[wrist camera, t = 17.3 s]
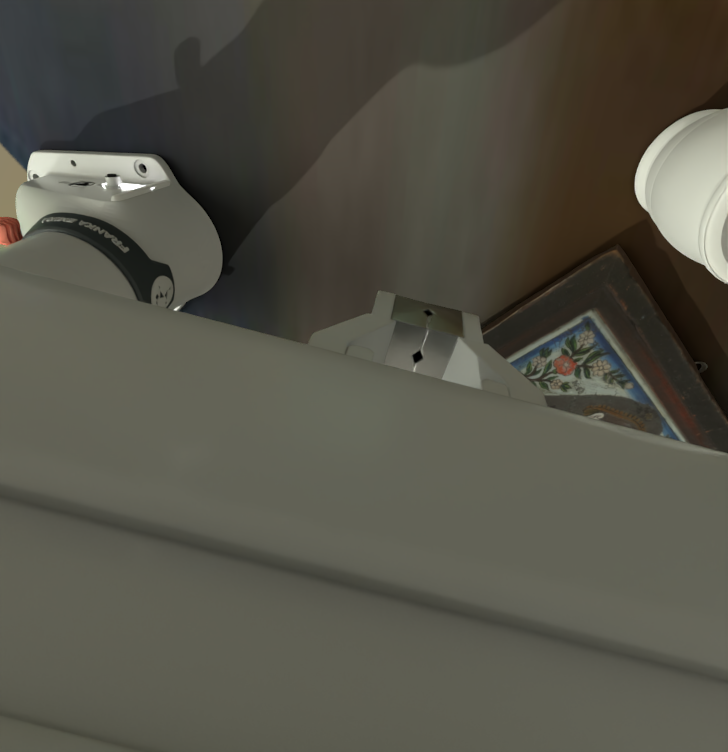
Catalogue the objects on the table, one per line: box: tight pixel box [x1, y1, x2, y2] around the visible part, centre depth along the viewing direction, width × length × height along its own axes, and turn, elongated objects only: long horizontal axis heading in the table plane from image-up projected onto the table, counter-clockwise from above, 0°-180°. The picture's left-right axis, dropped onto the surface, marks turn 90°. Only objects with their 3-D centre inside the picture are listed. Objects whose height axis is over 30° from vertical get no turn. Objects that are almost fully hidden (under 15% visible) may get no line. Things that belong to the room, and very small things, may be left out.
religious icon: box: [481, 244, 728, 453], centre depth 57 cm, size 40×45×3 cm
